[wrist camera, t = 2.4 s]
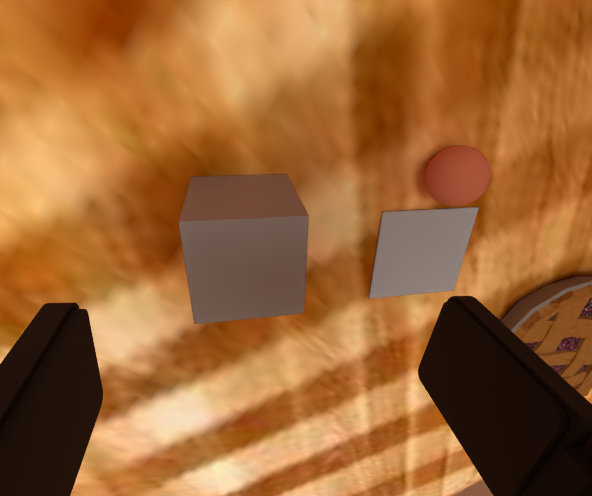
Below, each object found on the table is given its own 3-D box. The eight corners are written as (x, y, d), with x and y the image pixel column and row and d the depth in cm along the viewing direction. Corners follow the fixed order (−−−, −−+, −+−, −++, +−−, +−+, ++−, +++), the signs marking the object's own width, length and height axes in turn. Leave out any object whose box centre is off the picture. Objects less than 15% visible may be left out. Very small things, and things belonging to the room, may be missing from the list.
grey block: (286, 173, 29) (308, 215, 21) (285, 253, 32) (303, 313, 25) (191, 176, 27) (178, 222, 20) (201, 259, 31) (194, 324, 23)
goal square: (477, 206, 34) (478, 207, 34) (452, 289, 39) (453, 290, 38) (382, 211, 32) (383, 212, 32) (368, 297, 37) (369, 298, 37)
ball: (472, 139, 30) (514, 153, 26) (458, 193, 33) (494, 213, 28) (420, 140, 29) (454, 154, 25) (409, 195, 32) (439, 216, 27)
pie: (655, 251, 42) (704, 274, 38) (588, 373, 53) (620, 401, 49) (495, 275, 39) (529, 302, 35) (458, 399, 50) (480, 431, 46)
